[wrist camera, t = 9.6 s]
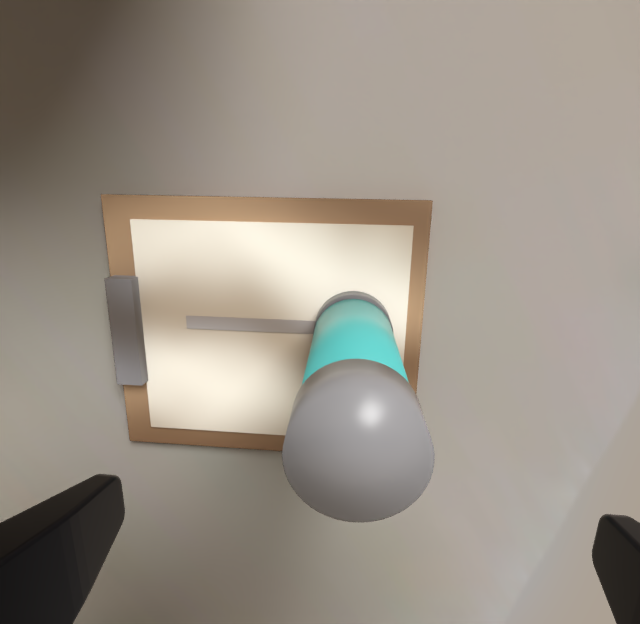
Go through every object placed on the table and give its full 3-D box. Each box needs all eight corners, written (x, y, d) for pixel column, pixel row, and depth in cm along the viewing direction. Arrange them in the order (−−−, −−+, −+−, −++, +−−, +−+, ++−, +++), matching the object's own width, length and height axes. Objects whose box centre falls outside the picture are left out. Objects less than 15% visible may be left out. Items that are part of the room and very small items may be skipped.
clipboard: (409, 452, 21) (412, 470, 20) (135, 434, 22) (121, 449, 21) (430, 200, 18) (435, 201, 17) (108, 194, 19) (89, 194, 18)
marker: (389, 365, 19) (427, 526, 10) (313, 362, 20) (282, 518, 10) (394, 291, 18) (441, 393, 9) (314, 288, 19) (281, 387, 9)
